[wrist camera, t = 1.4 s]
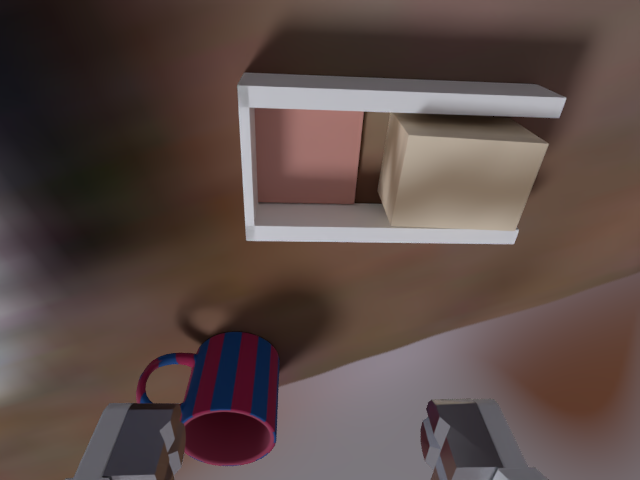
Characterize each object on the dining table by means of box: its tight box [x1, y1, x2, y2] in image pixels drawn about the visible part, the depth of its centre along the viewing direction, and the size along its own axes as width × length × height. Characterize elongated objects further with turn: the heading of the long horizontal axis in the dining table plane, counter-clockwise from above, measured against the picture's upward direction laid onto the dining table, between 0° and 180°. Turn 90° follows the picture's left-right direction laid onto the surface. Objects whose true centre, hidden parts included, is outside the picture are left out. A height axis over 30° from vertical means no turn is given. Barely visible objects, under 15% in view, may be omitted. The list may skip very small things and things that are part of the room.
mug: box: [136, 332, 279, 466], centre depth 30 cm, size 7×10×7 cm
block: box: [377, 112, 549, 231], centre depth 23 cm, size 5×7×4 cm
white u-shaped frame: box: [237, 73, 566, 244], centre depth 23 cm, size 9×16×3 cm, turn 87°
